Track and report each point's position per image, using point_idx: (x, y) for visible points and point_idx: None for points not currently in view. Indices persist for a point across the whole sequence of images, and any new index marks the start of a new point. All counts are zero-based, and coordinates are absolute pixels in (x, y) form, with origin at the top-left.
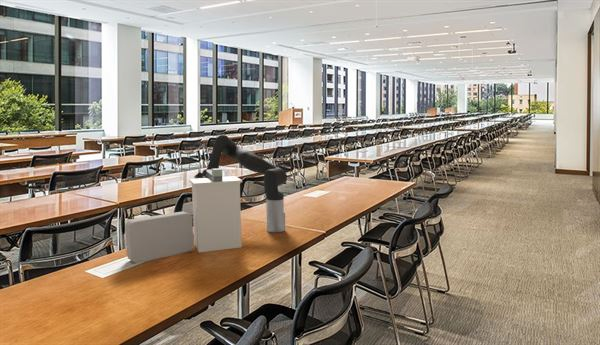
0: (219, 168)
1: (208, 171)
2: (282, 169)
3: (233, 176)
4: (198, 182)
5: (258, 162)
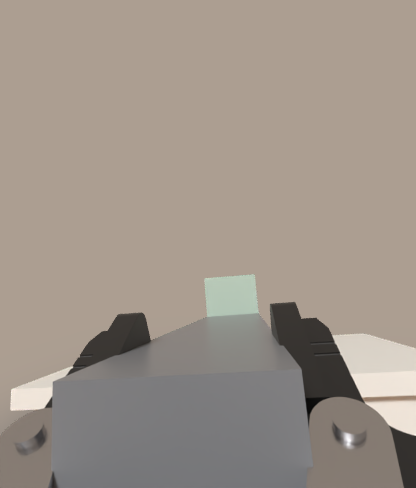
0: (210, 278)
1: (249, 330)
2: None
3: (40, 384)
4: (341, 337)
5: None
